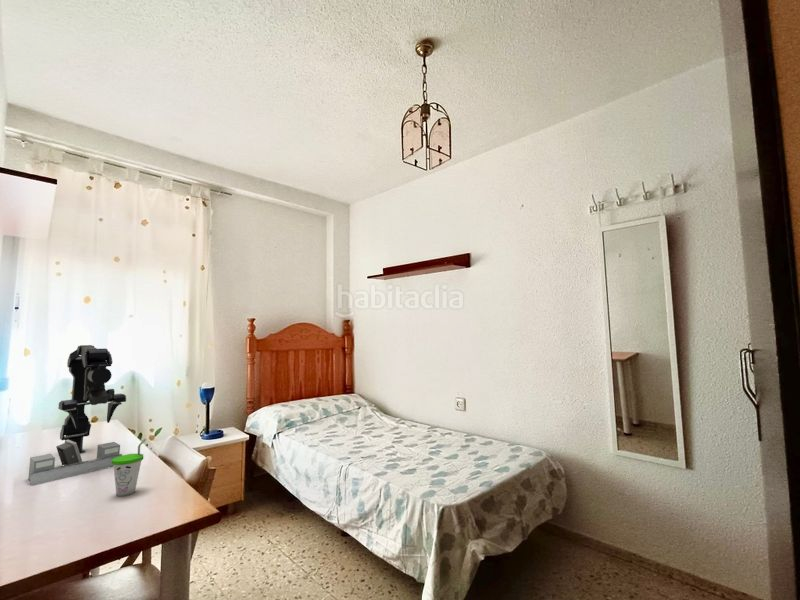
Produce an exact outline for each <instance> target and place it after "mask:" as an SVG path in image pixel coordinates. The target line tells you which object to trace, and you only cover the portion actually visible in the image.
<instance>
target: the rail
mask: <svg viewBox="0 0 800 600" xmlns="http://www.w3.org/2000/svg"><path fill="white" fill-rule="evenodd" d="M119 456H123V454H121V453H120V454H119V455H115V456H110V457H106V458H98V459H97V458H93V459H89V460H85V461H84V460H83V461H82V462H79V463H74V464H69V465H64V466H62V465H60V466H56V467H55V466H54V468H53V469H48V470H44V471H39V472H34V473H33V472H31V474H30V475H31V481H29V482H30V483H29V484H30V486H34V485H35V484H36V485H40V484H44V483H48V482H54V481H57V480H61V479H66V478H70V477H71V478H72V477H74V476H79V475H82V474H87V473H91V472H96V471H101V470H105V468H106V469H109V468H108V467H110V468H114V467H113V466H114V465H113V464H112V459H114V458H116V457H119ZM36 485H35V486H36Z"/></svg>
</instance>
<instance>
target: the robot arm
mask: <svg viewBox="0 0 800 600" xmlns="http://www.w3.org/2000/svg"><path fill="white" fill-rule="evenodd" d="M66 363H67V364H66V365H67V368H68V372H69V373H70V376H72V388H71V389H72V390H71V399H67V400H61V401H59V402H58V410H61V411H64V412H66V413H68V415H67V417H66V418H65V419H64V423H63V424H62V426H61V429H60V432H59V439H60V440H61V441H65V440H71V441H73V442H76V444H77V446H78V449H79V452H80V454H81V453H85V452H86V450H85V449H83V448H84V446H83V445H84V437H89V436H90V433H91V428H92V423H91V421H89V417H88V416H87V414H86V412H85V406H87V405H89V406H91V405H92V406H96V405H101V404H102V405H103V404H104V405H105V404H107V412H106V423H107V424H109V423H110V422H111V419H112V417H113V415H114V412H115V411H116V409H117V407H119V406H121V405H122V404H123V403H125V402H127V395H125V394H124V393H115V389H114V388H107V389H106V383H108V382H109V381H110V380H111V378H112V375H113V374H112V371H111V370H110V369H108V368H107V367H112V364H113V357H112V353H110V351H109V350H108V348H97V347H95V346H94V345H92V344H87V345H84V344H82V345H77V348H76V349H75V350H74V351H72V352H71V353H69V356H68V358H67V362H66Z"/></svg>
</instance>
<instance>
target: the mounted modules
mask: <svg viewBox="0 0 800 600" xmlns="http://www.w3.org/2000/svg"><path fill="white" fill-rule="evenodd" d="M120 450H121V444H119V443H118V442H115V441H111V442H106V443H100V444H97V449H96V459H98V458H106V457H110V456H115V455H119V454H121V451H120ZM55 461H56V457H55V456H54V455H53V454H51V453H47V454H41V455H35V456H30V458H29V468H28V469H29V470H28V477H27V478H28V479H27V480H28V481H29V480H30V481H31V475H30V474H31V472H33V473H34V472H39V471H44V470H48V469H53V468H55V464H56V463H55ZM30 481H29V482H30Z"/></svg>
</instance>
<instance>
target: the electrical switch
mask: <svg viewBox="0 0 800 600" xmlns="http://www.w3.org/2000/svg"><path fill="white" fill-rule="evenodd" d="M55 448H56V450H57V454H58V456H59V460H60V463H61V466H62V465H69V464H74V463H79V462H83V460H82V456H81V453H80V452H79V449H78V446H77V444H76V442H73V441H71V440H64V443H60V444H59V445H56V447H55Z"/></svg>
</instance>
